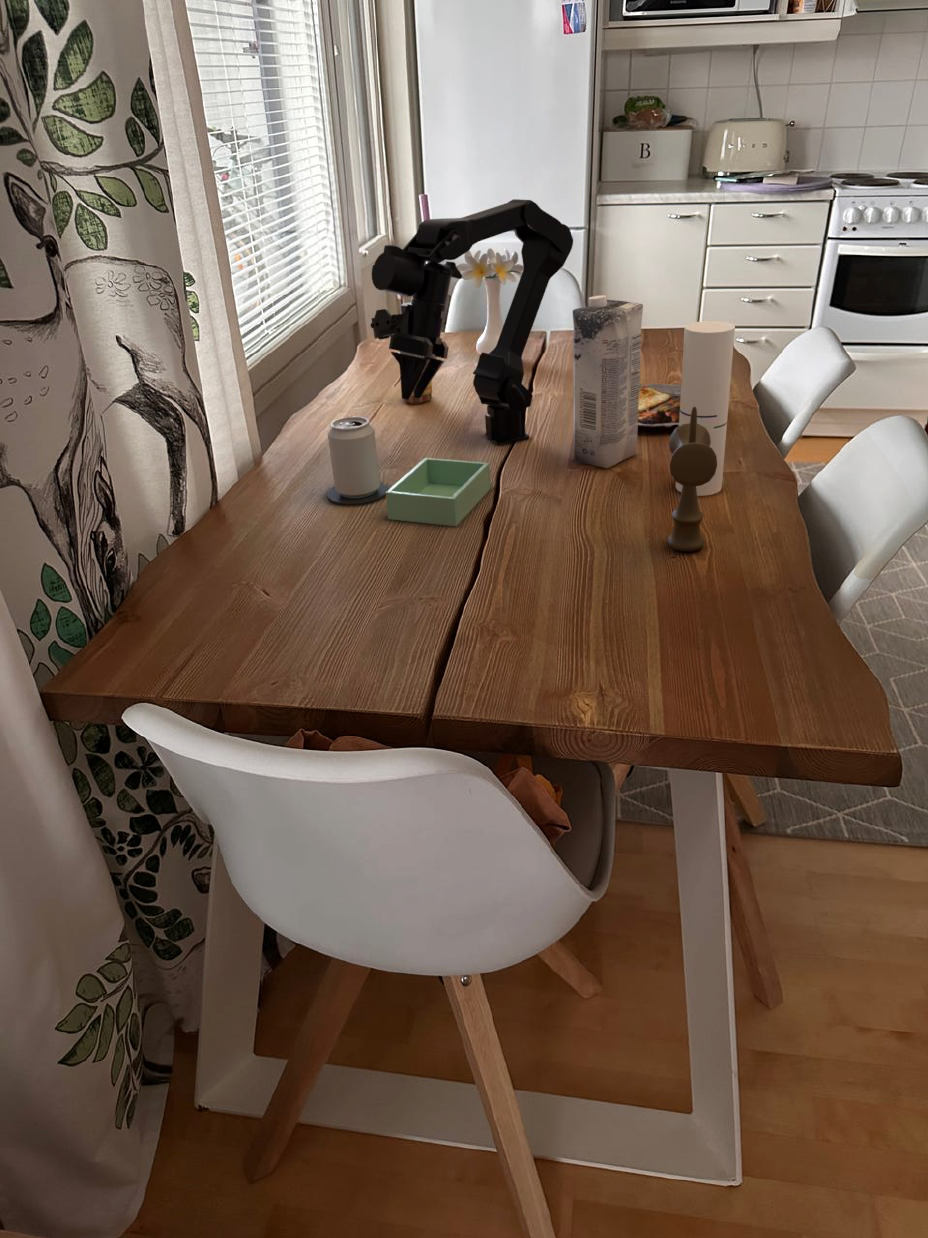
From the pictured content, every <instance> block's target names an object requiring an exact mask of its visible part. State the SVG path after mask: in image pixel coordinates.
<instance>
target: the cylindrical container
mask: <svg viewBox="0 0 928 1238" xmlns="http://www.w3.org/2000/svg"><path fill="white" fill-rule="evenodd" d="M683 330H684V332H683V349H682V365H681V366H682V367H681V369H682V370H681V383H680V385H681V399H680V417H679V426H681V425H682V424H688V423H690V418H691V412H692V408H693V407H694V406H695V407H696V409H697V424H700V425H701V426H703V427H705V428H706V429H707V431H708V432H709V434H710V441H711V444H710V447H711V448H712V449H713V451H714V452H715V454H716V457H717V468H716V472H715V475H714V476H713V477H712V479H711V480H710V481H709V482H707V483H705V484H703V485H701V486H696V490H697V497H704V496H711V495H714V494H717V493H719V492H720V491H722V488H723V478H724V475H723V474H724V466H725V465H724V464H725V452H726V442H727V441H726V440H727V427H728V415H729V403H730V391H731V381H732V380H731V379H732V369H733V368H732V367H733V357H734V356H733V354H734V344H735V343H734V342H735V332H736V331H735V330H736V326H735V325H734V324H733V323H731V322H726V321H718V320H704V321H696V322H695V321H694V322H689V323H687V324H686V325H685V326H684V329H683ZM679 426H678V427H679ZM682 487H683V485H681V484H679V483H678V482H676V481H675V489H676V490H677V491H678V492H679V493H681V491H682Z"/></svg>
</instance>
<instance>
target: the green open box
mask: <svg viewBox="0 0 928 1238" xmlns="http://www.w3.org/2000/svg"><path fill="white" fill-rule="evenodd" d="M490 465H491V464H490V462H484V461H483V462H482V461H473V460H472V461H470V460H457V459H446V458H434V457H425V458H423V459H422V460H421V461H420V462H418V463H417V464H416V465H415V466H414V467H413V468H412V469H410V470H409V471H408V472H407V473H406V474H405V475H403V476H402V477H401V478H400V479H399V480H398V481H397V482H396V483H395V484H393V485H392V486H391V487H390V488H389V489H388V491H387V492H386V496H385V500H386V510H387V519H388V520H392V521H401V522H411V523H422V524H430V525H440V526H446V527H447V526H448V527H449V526H450V527H457V526H458V525H459V524H460V523H461V522H462V521H463V520H464V518H465V517H466V516H467V515H468V514H469V513H470V512H471V511H472V510H473V509H474V508H475V507H476V505H478V503H479V502H480V501H481V500H482V499H483V498H484V497H485V496H486V494H488V493H489V491H490V490H491V489H492V487H491V485H492V484H491V466H490Z"/></svg>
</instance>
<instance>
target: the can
mask: <svg viewBox="0 0 928 1238" xmlns="http://www.w3.org/2000/svg"><path fill="white" fill-rule="evenodd" d="M375 433H376V432H375V428H374V427H373V426H372V425H371V424H370V419H368V418H367V417H363V416H357V415H356V416H354V415H353V416H343V417H340V418H337V419H335V420H333V421H332V422H331V423H330V429H329V430H328V432H327V440H328V446H329V454H330V460H331V468H332V476H333V483H334V487H335V490H336V491H337V492H338V493H340V494H341V495H342V496H344V497H347V498H362V497H366V496H369V495H372V494H373V493H375V491H376V490H377V489H378V488H379V486H380V483H381V480H380V478H381V477H380V469H379V468H380V467H379V459H378V452H377V444H376V443H377V442H376V435H375Z"/></svg>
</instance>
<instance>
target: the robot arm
mask: <svg viewBox="0 0 928 1238" xmlns="http://www.w3.org/2000/svg"><path fill="white" fill-rule="evenodd" d="M511 231H513V232H514V235H515V237H516V238H517V239H518V240H519V241H520V242H521V243H522V247H521V251H520V255H521V261H522V266H523V272H522V275H521V278H520V277H519V278H520V279H519V281H518V283H517V286H516V290H515V292H514V295H513V298H512V301H511V303H510V306H509V309H508V311H507V314H506V317H505V320H504V322H503V328H502V331H501V334H500V337H499V339H498V342H497V345H496V347H495V348H494V349H493V350H492V351H491V352H490V353H489V354H488V353H481V355H479V357H478V361H477V365H476V367H475V369H474V370H473V372H472V375H474V377H473V382H472V385H473V387H474V391H475V394H476V395H478V398H479V401H480V403H481V405H486V411H487V413H486V414H485V415H484V422H485V423H484V424H485V433H484V436H485V437H486V438H487V439H489V440H490V441H492V442H494V443H495V444H496V445H499V446H500V445H504V444H509V443H515V442H521V441H524V440H529V439H530V435H529V434H527V433H526V409H527V408H530V407H531V406H532V402H533V393H532V392H531V391H529V389H527V388H526V386H525V385H523V380H524V375H525V372H524V364H523V353H524V351H525V348H526V345H527V342H528V340H529V337H530V335H531V331H532V329H533V327H534V323H535V320H536V319H537V315H538V312H539V309H540V306H541V304H542V301H543V299H544V296H545V293H546V291H547V288H548V285H549V282H550V281H551V279H552V278H553V277H554V276H555V275H556V273H558V272H559V271H560V270H561V269H562V268H563V267H564V266H565V263H566V261H567V259H568V257H569V255H570V253H571V251H572V249H573V245H574V238H573V235H572V232H571V229H570V227H569V226H568V225H566V224H565V223H561V221H560V220H559V219H557V218H556V217H555V216H553V215H552V214H550V213H548V212H546V211H545V210H544V209H542V208H541V207H540V206H539V205H538V203H537V202H535V201H533V200H532V199H518V198H515V199H511V200H510V201H508V202H505V203H503V204H500V205H496V206H494V207H490V208H487V209H484V210H481V211H478V212H475V213H472V214H469V215H465V216H462V217H451V218H429V219H425V220H423V221H421V222H420V223H419V224H418V229H417V230H416V233H415V234H414V235H413V236H412V238H411V239H410V240H409V241H408V242H407V243H406V245H405V246H404V247H403V248H401V247H399V246H396V245H393V244H384V246H383V247H384V248H383V252H382V253H380V254H379V255H378V256H377V258H376V259H375V262H374V264H373V265H372V268H371V282H372V284H373V286H374V288H375V289H377V290H378V291H382V292H386V293H390V294H395V295H398V296H403V297H407V298H408V297H409V298H410V297H411V299H410V302H411V304H407V306H405V311H404V313H403V314H402V313H398V314H396V313H395V314H391V312H389V310H388V309H386V308H381V309H376V310H375V314H374V317H371V323H370V328H371V329H372V330H373V337H374V339H375V340H377V339H378V340H386V339H387V340H388V339H389V338H390V339H389V346H388V350H393V351H390V354H391V356H393V357H394V359H395V360H396V362H397V363H398V365H399V375H400V390H401V391H400V393H401V399H402V400H404V399H406V400H408V399H409V398H410V396H411V394H412V393H413V391H414V397H415V398H421V396H422V395H423V393H424V392H425V390H426V388H427V387H428V385H429V384H430V382H432V380H433V379H434V377H435V376H436V374H437V373H438V372H439V370H440V369H441V367H442V365H443V364H444V363H445V359H446V360H447V359H448V354H449V349H450V348H449V346H448V345H447V343H446V342H445V341H443V338H441V334H442V329H443V328H442V327H443V324H444V323H443V322H444V320H447V315H448V313H447V312H446V306H447V302H448V296H449V292H450V285H451V280H452V279H457V280H462V279H461V278H462V273H461V271H459V270H458V269H457V263H456V262H455V261H454V260H456V259H459V258H460V257H462V256H463V255H465V253H466V252H468V251H471V249H472V247H473V246H474V245H476V244H477V243H479V242H481V241H484V240H488V239H490V238H493V237H496V236H499V235H502V234H504V233H507V232H511ZM444 261H445V262H444ZM426 262H427V263H426ZM442 262H444V263H442ZM396 351H398V352H396ZM399 351H400V353H399ZM439 358H440V359H439ZM443 359H444V360H443Z"/></svg>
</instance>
